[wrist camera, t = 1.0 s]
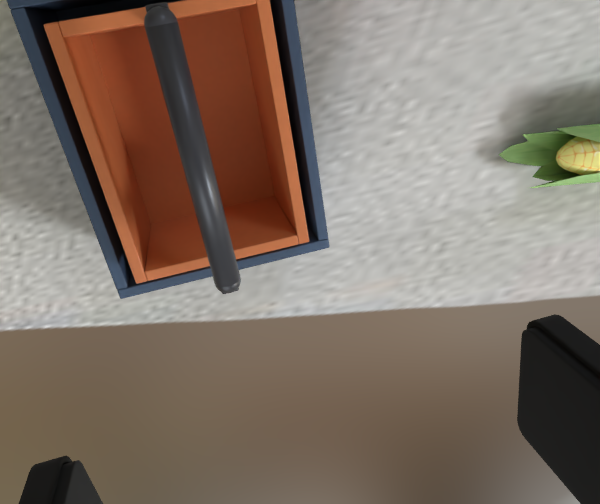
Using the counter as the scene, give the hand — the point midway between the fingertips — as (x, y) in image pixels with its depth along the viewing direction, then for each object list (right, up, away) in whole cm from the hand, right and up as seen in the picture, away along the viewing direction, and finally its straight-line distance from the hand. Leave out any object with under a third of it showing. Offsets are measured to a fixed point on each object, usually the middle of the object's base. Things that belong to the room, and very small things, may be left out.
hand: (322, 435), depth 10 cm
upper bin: (-7, +12, +20) cm, 24 cm away
